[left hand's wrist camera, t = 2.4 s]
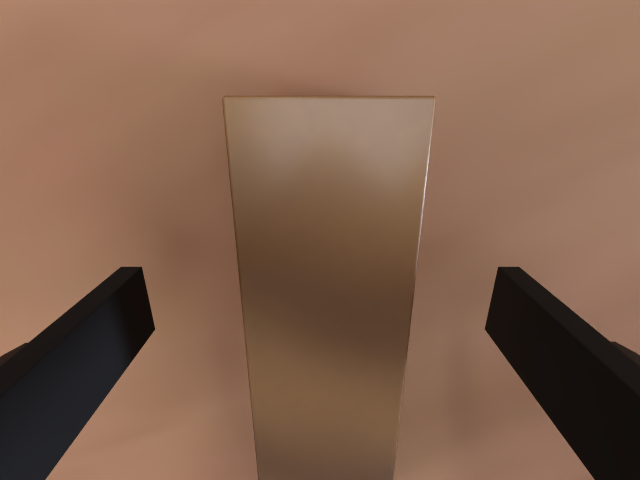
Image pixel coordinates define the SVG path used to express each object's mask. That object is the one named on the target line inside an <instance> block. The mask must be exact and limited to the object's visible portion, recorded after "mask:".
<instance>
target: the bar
mask: <svg viewBox="0 0 640 480" xmlns="http://www.w3.org/2000/svg"><path fill="white" fill-rule="evenodd" d="M222 102H223V112H224V123H225V133H226V144H227V154H228V165H229V175H230V186H231V196H232V207H233V217H234V228H235V239H236V249H237V260H238V270H239V281H240V291H241V302H242V312H243V323H244V333H245V344H246V355H247V365H248V376H249V386H250V397H251V407H252V418H253V428H254V439H255V449H256V460H257V470H258V480H393V475H394V466H395V457H396V448H397V439H398V430H399V421H400V413H401V404H402V395H403V386H404V377H405V368H406V359H407V350H408V342H409V333H410V324H411V315H412V306H413V297H414V288H415V279H416V270H417V262H418V253H419V244H420V235H421V226H422V217H423V208H424V199H425V190H426V182H427V173H428V164H429V155H430V146H431V137H432V128H433V119H434V110H435V102H436V98H435V97H434V96H224V97H223V99H222Z"/></svg>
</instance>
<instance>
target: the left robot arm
mask: <svg viewBox="0 0 640 480" xmlns="http://www.w3.org/2000/svg"><path fill="white" fill-rule="evenodd" d="M154 330H155V326H154V321H153V317H152V312H151V307H150V303H149V298H148V293H147V289H146V284H145V279H144V275H143V270H142V267H120V268H119V269H118V270H117V271H115V272H114V273H113V274H112V275H111V276H109V277H108V278H107V279H106V280H104V281H103V282H102V283H101V284H100V285H98V286H97V287H96V288H95V289H94V290H92V291H91V292H90V293H89V294H87V295H86V296H85V297H84V298H83V299H81V300H80V301H79V302H78V303H76V304H75V305H74V306H73V307H72V308H70V309H69V310H68V311H67V312H65V313H64V314H63V315H62V316H61V317H59V318H58V319H57V320H56V321H55V322H53V323H52V324H51V325H50V326H48V327H47V328H46V329H45V330H44V331H42V332H41V333H40V334H39V335H37V336H36V337H35V338H34V339H33V340H31V341H30V342H29V343H24V344H23V345H21V346H19V347H17V348H15V349H13V350H12V351H10V352H8V353H6V354H4V355H2V356H1V357H0V480H45V479H46V478H47V477H48V475H49V474H50V472H51V471H52V470H53V468H54V467H55V466H56V464H57V463H58V462H59V460H60V459H61V457H62V456H63V455H64V453H65V452H66V451H67V449H68V448H69V446H70V445H71V444H72V442H73V441H74V440H75V438H76V437H77V436H78V434H79V433H80V431H81V430H82V429H83V427H84V426H85V425H86V423H87V422H88V420H89V419H90V418H91V416H92V415H93V414H94V412H95V411H96V410H97V408H98V407H99V405H100V404H101V403H102V401H103V400H104V399H105V397H106V396H107V394H108V393H109V392H110V390H111V389H112V388H113V386H114V385H115V384H116V382H117V381H118V379H119V378H120V377H121V375H122V374H123V373H124V371H125V370H126V368H127V367H128V366H129V364H130V363H131V362H132V360H133V359H134V358H135V356H136V355H137V353H138V352H139V351H140V349H141V348H142V347H143V345H144V344H145V342H146V341H147V340H148V338H149V337H150V336H151V334H152V333H153V332H154ZM485 330H486V332H487V333H488V334H489V336H490V337H491V338H492V340H493V341H494V342H495V344H496V345H497V347H498V348H499V349H500V351H501V352H502V353H503V355H504V356H505V358H506V359H507V360H508V362H509V363H510V364H511V366H512V367H513V368H514V370H515V371H516V373H517V374H518V375H519V377H520V378H521V379H522V381H523V382H524V384H525V385H526V386H527V388H528V389H529V390H530V392H531V393H532V394H533V396H534V397H535V399H536V400H537V401H538V403H539V404H540V405H541V407H542V408H543V410H544V411H545V412H546V414H547V415H548V416H549V418H550V419H551V420H552V422H553V423H554V425H555V426H556V427H557V429H558V430H559V431H560V433H561V434H562V436H563V437H564V438H565V440H566V441H567V442H568V444H569V445H570V446H571V448H572V449H573V451H574V452H575V453H576V455H577V456H578V457H579V459H580V460H581V462H582V463H583V464H584V466H585V467H586V468H587V470H588V471H589V472H590V474H591V475H592V477H593V478H594V479H595V480H640V355H638V354H637V353H635V352H633V351H631V350H629V349H627V348H626V347H624V346H622V345H620V344H618V343H616V342H610V341H609V340H607V339H606V338H605V337H604V336H603V335H601V334H600V333H599V332H598V331H596V330H595V329H594V328H593V327H592V326H590V325H589V324H588V323H587V322H585V321H584V320H583V319H582V318H581V317H579V316H578V315H577V314H576V313H575V312H573V311H572V310H571V309H570V308H568V307H567V306H566V305H565V304H564V303H562V302H561V301H560V300H559V299H557V298H556V297H555V296H554V295H553V294H551V293H550V292H549V291H548V290H546V289H545V288H544V287H543V286H542V285H540V284H539V283H538V282H537V281H536V280H534V279H533V278H532V277H531V276H529V275H528V274H527V273H526V272H525V271H523V270H522V269H521V268H520V267H498V270H497V275H496V279H495V284H494V289H493V293H492V298H491V303H490V307H489V312H488V317H487V321H486V326H485Z"/></svg>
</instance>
